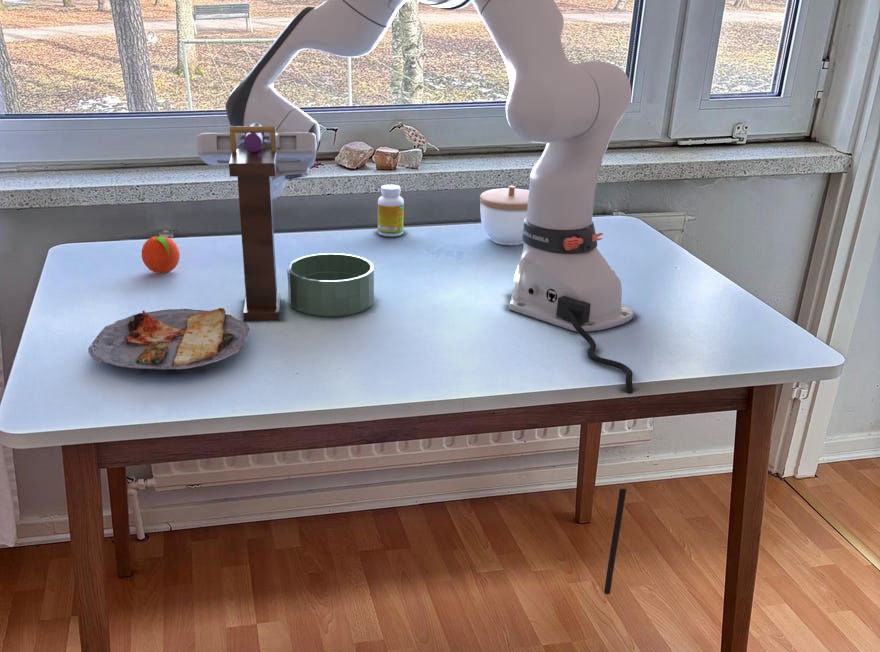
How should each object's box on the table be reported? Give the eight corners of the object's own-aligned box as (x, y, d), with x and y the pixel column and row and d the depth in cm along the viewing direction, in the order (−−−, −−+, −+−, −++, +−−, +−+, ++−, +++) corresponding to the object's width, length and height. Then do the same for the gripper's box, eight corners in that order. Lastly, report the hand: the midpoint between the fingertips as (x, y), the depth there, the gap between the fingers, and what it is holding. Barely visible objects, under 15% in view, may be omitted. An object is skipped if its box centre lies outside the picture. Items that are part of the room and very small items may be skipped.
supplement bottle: (403, 237, 208) (403, 190, 203) (377, 237, 208) (377, 189, 203) (403, 229, 212) (404, 183, 207) (378, 229, 212) (378, 183, 207)
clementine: (189, 276, 186) (186, 238, 182) (154, 283, 182) (150, 244, 179) (172, 264, 191) (168, 227, 188) (138, 270, 188) (133, 233, 184)
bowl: (390, 307, 173) (390, 271, 170) (316, 324, 166) (315, 287, 163) (345, 282, 184) (344, 248, 180) (274, 298, 176) (272, 262, 173)
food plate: (121, 318, 168) (118, 298, 166) (259, 321, 167) (257, 301, 165) (74, 381, 146) (70, 359, 144) (233, 385, 146) (231, 363, 144)
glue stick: (248, 140, 169) (247, 122, 168) (264, 139, 169) (263, 122, 168) (244, 152, 159) (243, 133, 158) (262, 152, 159) (261, 133, 158)
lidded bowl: (474, 247, 203) (477, 192, 197) (480, 229, 213) (483, 177, 208) (537, 251, 201) (542, 196, 195) (540, 233, 212) (544, 180, 206)
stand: (243, 301, 175) (230, 123, 160) (284, 300, 176) (275, 123, 160) (239, 322, 167) (226, 137, 151) (283, 321, 167) (273, 137, 152)
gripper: (200, 141, 177) (190, 114, 163) (315, 141, 179) (315, 113, 165) (201, 177, 177) (191, 153, 163) (317, 176, 179) (316, 152, 165)
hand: (254, 133), depth 164 cm, fingers closed on glue stick, 3 cm apart
